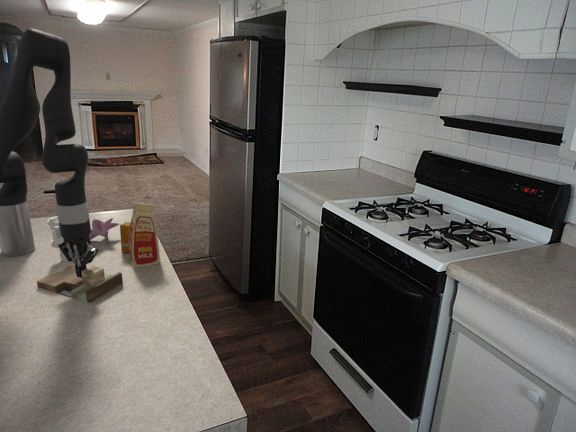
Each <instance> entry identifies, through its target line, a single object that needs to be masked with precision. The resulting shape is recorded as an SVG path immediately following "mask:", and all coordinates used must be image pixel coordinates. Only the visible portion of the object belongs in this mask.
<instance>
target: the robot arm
mask: <svg viewBox="0 0 576 432" xmlns="http://www.w3.org/2000/svg"><path fill="white" fill-rule="evenodd" d="M13 66H14V67H13V70H12V75H11V78H10V81H9V83H8V84H9V85H8V88H7V90H6V93H5V95H4V98H3V100H2V103H1V106H0V184H2V185H1V187H0V252H1V253H2V254H3V256H6V257H20V256H24V255H28V254H30V253H33V252H34V251H35V250H36V246H35V240H34V233H33V228H32V223H31V222H32V221H31V216H30V210H29V205H28V200H27V195H28V184H27V183H28V182H27V172H26V167H25V164H24V160H23V158H22V157H21V156H20V154H18V153H17V152H15V151H13V150H14V149H16V147H17V146H18V145H20V143H22V142H23V141H24V140H25V139H26V138H28V136H29V135H30V134H31V133H32V131H33V130H34V129H35V126H36V124H37V121H38V118H39V115H40V113H41V112H42V118H43V124H44V133H45V136H44V145H43V149H42V154H41V161H42V162H41V163H42V165H43V168H45V170H46V171H48V172H49V173H54V174H58V173H70V172H71V173H72V172H74V173H73V175H72V176H70V177H69V178H65V179H63V180H59V181H57V182H56V183H55V184H54V193H55V199H56V200H55V201H56V205H57V206H56V210H57V211H56V213H57V216H58V220H57V222H59V228H60V234H61V237H62V238H64V239H63V240H64V241H63V242H62V243H60V244H58V247H59V248H60V250H61V251H62V252H63V254H64V255H65V257H66V258H67V260H68V261H67V262H69V263H72V265H75V271H76V275H77V277H80V278H82V272H81V271H83V270H85V269H87V268H88V267H87V265H88V264H90V263H92V262H93V260H94V259H95V258H96V256H97V254H98V253H99V248H98V247H95V248H94V247H93V246H92V241H91V240H90V239H89V235H90V233H91V229H92V228H91V226H92V225H91V221H90V212H89V207H88V203H87V197H86V196H87V195H86V189H85V187H86V186H85V184H86V183H85V179H86V175H87V174H86V173H87V168H88V162H89V152H88V150H87V149H86V147H85V146H83V145H82V144H81V143H70V144H69V143H68V144H67V143H66V144H63V143H62V144H59V143H61V142H64V141H67V140H70V139H72V138H74V137H75V135H76V124H75V120H74V114H73V107H72V100H71V99H72V98H71V97H72V94H71V87H72V85H71V84H72V83H71V81H72V80H71V77H72V75H71V72H72V71H71V52H70V47H69V44H68V41H66V40H65V39H64V38H62V37H60V36H59V35H58V36H57V35H54V34H52V33H48V32H45V31H42V30H40V29H35V28H27V29H25V30H24V32H23V33H22V35H21V37H20V40H19V44H18V48H17V52H16V57H15V61H14V65H13ZM34 67H38V68H41V69H45V70H49V71H53V73H54V83H53V85H52V86H51V88H50V89H49V91H48V92H47V94H46V96H45V97H44V100H43V102H42V106H41V105H40V104H41V103H40V101H39V98H38V96H37V93H36V90H35V89H34V86H33V83H32V73H33V68H34ZM41 107H42V108H41ZM59 248H58V249H59ZM68 253H69V254H68Z"/></svg>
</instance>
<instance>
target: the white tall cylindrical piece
mask: <svg viewBox="0 0 576 432" xmlns="http://www.w3.org/2000/svg"><path fill="white" fill-rule="evenodd" d="M47 225H48V226H49V229H50V230H51V233H52V235H51V236H52V240H51V241H50V245H51V247H52V248H56V249H59V250H58V251H59V256H60V261H61V262H69V261H68V260H67V258H66V257H65V255H64V254H63V252H62V251H61V250H60V248H59V247H58V244H60V243H62V242H63V241H64V240H63V239H64V238H62V237H61V234H60V228H59V221H58V215H57V216H52V217H50V218H48V219H47ZM68 254H69V253H68Z"/></svg>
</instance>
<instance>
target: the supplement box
mask: <svg viewBox="0 0 576 432" xmlns="http://www.w3.org/2000/svg"><path fill="white" fill-rule="evenodd" d="M130 223H131V222H129V221H125V222H124V223H121V224H119V233H120V247H121V249H120V250H121V253H124V254H131V253H130V246H129V234H130Z"/></svg>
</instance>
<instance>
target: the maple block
mask: <svg viewBox="0 0 576 432" xmlns="http://www.w3.org/2000/svg"><path fill="white" fill-rule="evenodd" d="M81 272H82V280H83V284H84V285H87V286H91V287H93V286H95V285H96V284H98V283H100V282H102V281H104V280H105V275H104V273H105V269H104V267H99V266H97V265H96V266H95V265H91V266H89V267H87V269H85V270H83V271H81Z"/></svg>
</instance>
